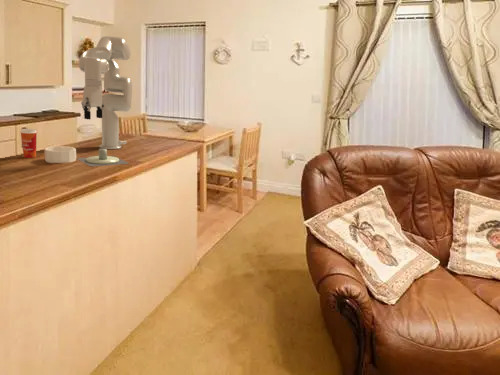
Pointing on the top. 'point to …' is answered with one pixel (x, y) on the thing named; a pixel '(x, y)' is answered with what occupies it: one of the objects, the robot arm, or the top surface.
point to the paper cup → (29, 142)
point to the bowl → (60, 154)
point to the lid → (102, 158)
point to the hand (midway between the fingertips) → (93, 118)
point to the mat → (101, 164)
